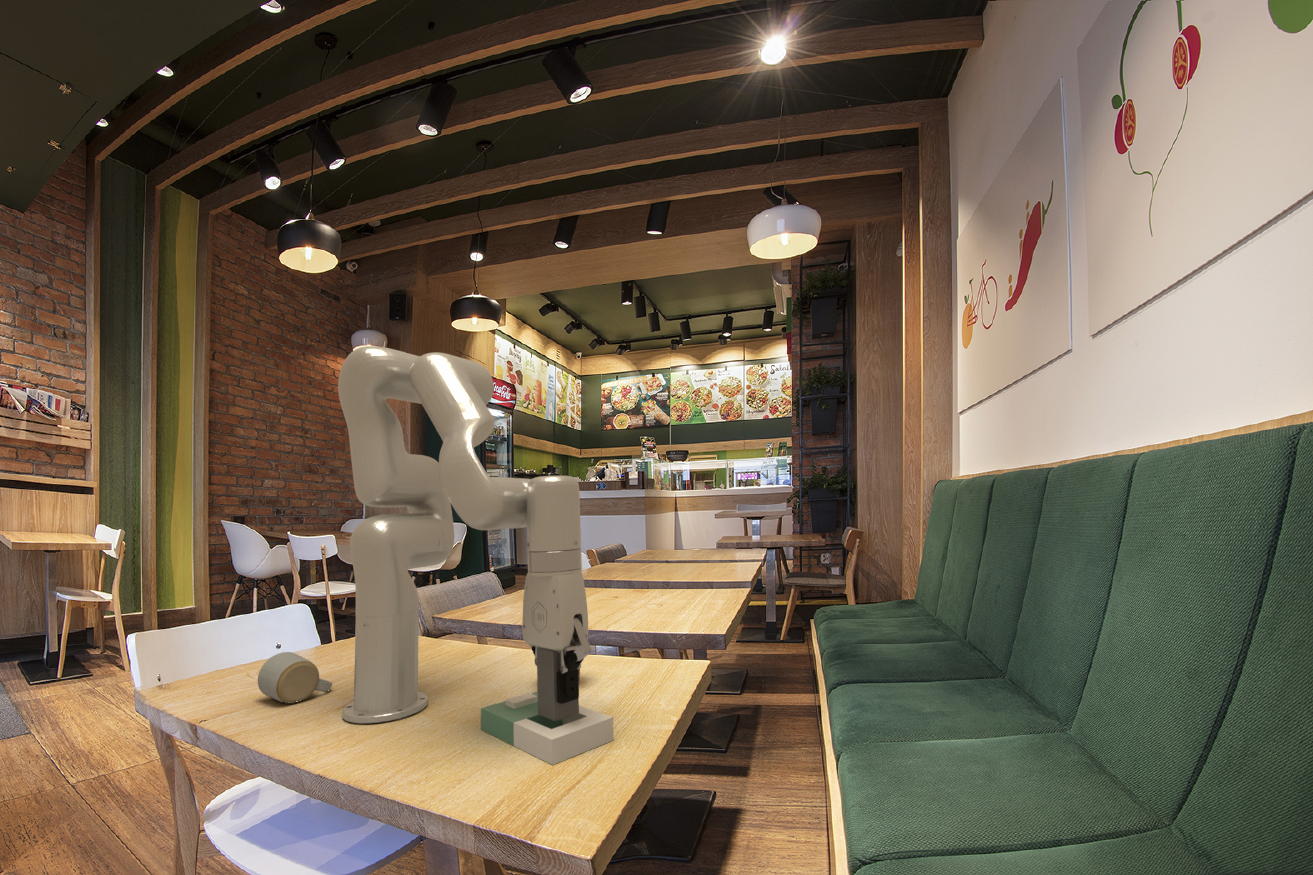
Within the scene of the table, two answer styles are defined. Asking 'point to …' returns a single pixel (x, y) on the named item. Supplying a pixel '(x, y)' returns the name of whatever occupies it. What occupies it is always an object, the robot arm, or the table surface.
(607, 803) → the table surface
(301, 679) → the ceramic mug
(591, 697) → the table surface
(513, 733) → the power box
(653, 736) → the table surface
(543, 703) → the grey square peg
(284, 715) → the table surface
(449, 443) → the robot arm
